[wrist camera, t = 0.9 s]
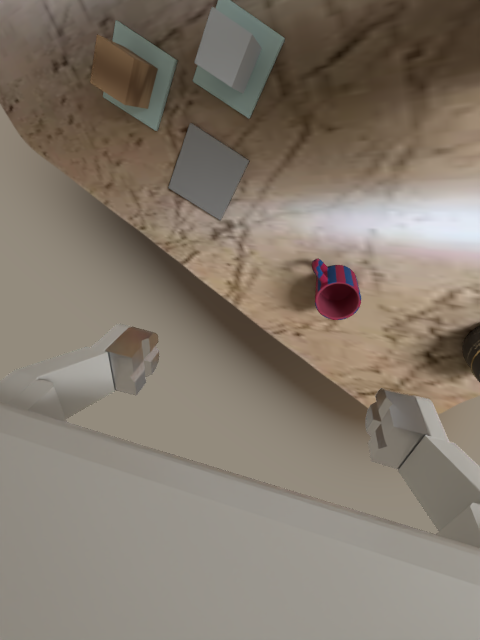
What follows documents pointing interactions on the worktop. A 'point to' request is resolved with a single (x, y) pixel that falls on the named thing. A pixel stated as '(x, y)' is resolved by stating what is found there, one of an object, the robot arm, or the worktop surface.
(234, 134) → the worktop surface
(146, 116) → the code tile
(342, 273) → the mug
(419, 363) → the worktop surface
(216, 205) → the slate coaster
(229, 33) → the blue-grey block
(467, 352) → the jar
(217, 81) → the code tile
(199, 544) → the robot arm
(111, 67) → the walnut block
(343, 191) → the worktop surface
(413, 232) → the worktop surface
